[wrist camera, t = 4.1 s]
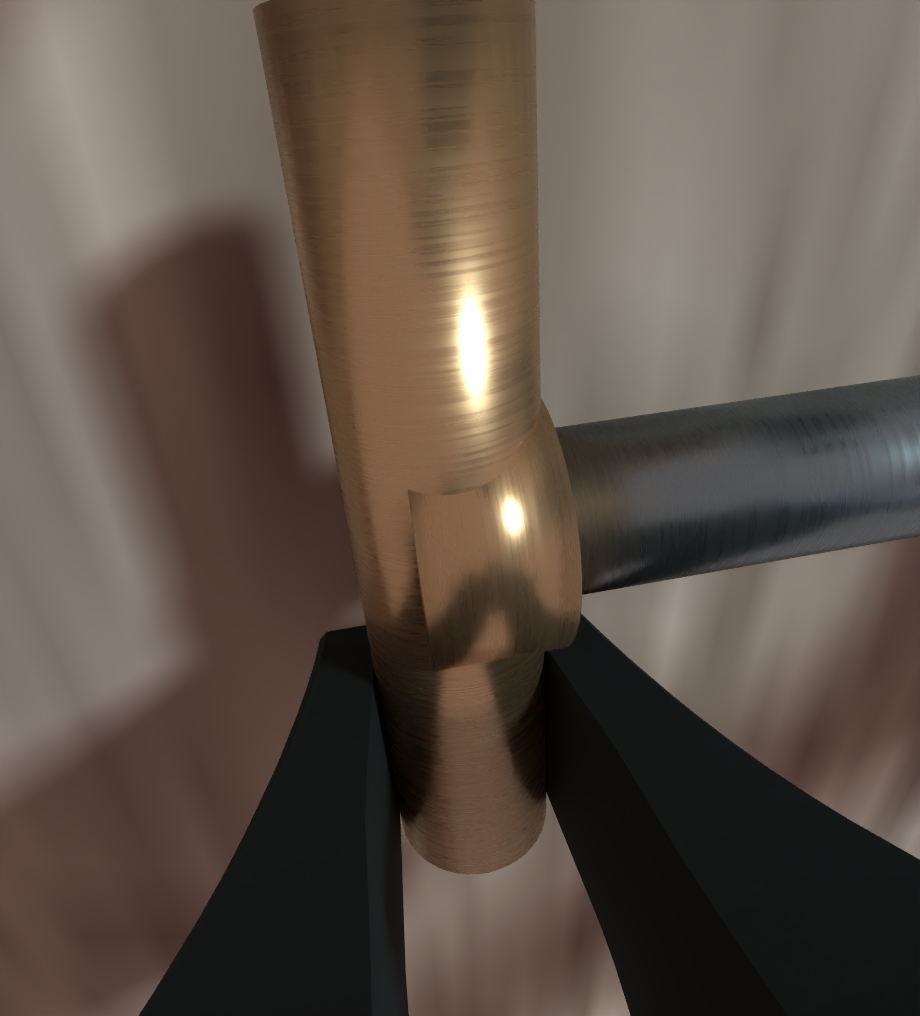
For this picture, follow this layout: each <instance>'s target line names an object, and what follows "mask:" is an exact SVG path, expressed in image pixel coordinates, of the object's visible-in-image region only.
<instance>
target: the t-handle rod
mask: <svg viewBox="0 0 920 1016" xmlns="http://www.w3.org/2000/svg"><path fill="white" fill-rule="evenodd" d="M253 14H254V19H255V25H256V30H257V36H258V41H259V47H260V52H261V57H262V63H263V68H264V74H265V79H266V85H267V90H268V95H269V101H270V106H271V112H272V117H273V123H274V128H275V133H276V139H277V144H278V150H279V155H280V161H281V166H282V172H283V177H284V182H285V188H286V193H287V199H288V204H289V210H290V215H291V220H292V226H293V231H294V237H295V242H296V248H297V253H298V258H299V264H300V269H301V275H302V280H303V286H304V291H305V296H306V302H307V307H308V313H309V318H310V324H311V329H312V335H313V340H314V345H315V351H316V356H317V362H318V367H319V373H320V378H321V383H322V389H323V394H324V400H325V405H326V411H327V416H328V421H329V427H330V432H331V438H332V443H333V449H334V454H335V459H336V465H337V470H338V476H339V481H340V487H341V492H342V498H343V503H344V508H345V514H346V519H347V525H348V530H349V536H350V541H351V546H352V552H353V557H354V563H355V568H356V574H357V579H358V584H359V590H360V595H361V601H362V606H363V612H364V617H365V623H366V628H367V633H368V639H369V644H370V650H371V655H372V661H373V666H374V671H375V677H376V682H377V688H378V693H379V699H380V704H381V709H382V715H383V720H384V726H385V731H386V737H387V742H388V747H389V753H390V758H391V764H392V769H393V775H394V780H395V786H396V791H397V796H398V802H399V807H400V813H401V818H402V823H403V828H404V831H405V833H406V836H407V838H408V840H409V842H410V843H411V845H412V846H413V847H414V849H415V850H416V851H417V852H418V853H419V854H420V855H421V856H422V857H423V858H424V859H426V860H427V861H428V862H430V863H432V864H433V865H435V866H437V867H439V868H442V869H444V870H447V871H450V872H455V873H460V874H482V873H489V872H492V871H496V870H499V869H501V868H504V867H506V866H508V865H510V864H512V863H513V862H515V861H517V860H518V859H519V858H521V857H522V856H523V855H524V854H525V853H526V852H527V851H528V850H529V849H530V848H531V847H532V846H533V844H534V843H535V842H536V840H537V839H538V837H539V835H540V833H541V831H542V828H543V825H544V822H545V817H546V745H545V672H544V651H549V650H555V649H560V648H566V647H568V646H570V645H571V644H572V643H573V641H574V640H575V637H576V635H577V632H578V627H579V623H580V616H581V605H582V595H583V594H589V593H595V592H600V591H606V590H612V589H618V588H623V587H629V586H635V585H641V584H646V583H652V582H658V581H663V580H669V579H675V578H681V577H686V576H692V575H698V574H704V573H709V572H715V571H721V570H727V569H732V568H738V567H744V566H749V565H755V564H761V563H767V562H772V561H778V560H784V559H790V558H795V557H801V556H807V555H813V554H818V553H824V552H830V551H835V550H841V549H847V548H853V547H858V546H864V545H870V544H876V543H881V542H887V541H893V540H898V539H904V538H910V537H916V536H920V375H918V376H911V377H904V378H897V379H890V380H883V381H876V382H869V383H862V384H855V385H848V386H841V387H834V388H827V389H820V390H814V391H807V392H800V393H793V394H786V395H779V396H772V397H765V398H758V399H751V400H744V401H737V402H730V403H723V404H716V405H709V406H702V407H696V408H689V409H682V410H675V411H668V412H661V413H654V414H647V415H640V416H633V417H626V418H619V419H612V420H605V421H598V422H591V423H584V424H578V425H571V426H564V427H557V428H555V427H554V424H553V422H552V420H551V417H550V415H549V412H548V410H547V408H546V406H545V404H544V402H543V401H542V399H541V380H540V307H539V234H538V162H537V89H536V16H535V0H269V1H267V2H264V3H261V4H259V5H258V6H256V7H255V8H254V9H253Z"/></svg>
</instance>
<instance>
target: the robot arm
mask: <svg viewBox="0 0 920 1016" xmlns="http://www.w3.org/2000/svg"><path fill="white" fill-rule="evenodd" d="M544 672H545V745H546V792H547V795H548V797H549V800H550V802H551V805H552V807H553V810H554V812H555V814H556V817H557V819H558V822H559V824H560V827H561V829H562V832H563V834H564V837H565V839H566V842H567V844H568V847H569V849H570V851H571V854H572V856H573V859H574V861H575V864H576V866H577V869H578V871H579V874H580V876H581V878H582V881H583V883H584V886H585V888H586V891H587V893H588V896H589V898H590V901H591V903H592V906H593V908H594V910H595V913H596V915H597V918H598V920H599V923H600V925H601V928H602V931H603V933H604V936H605V939H606V942H607V944H608V947H609V950H610V953H611V955H612V958H613V961H614V964H615V967H616V970H617V973H618V976H619V980H620V983H621V986H622V989H623V993H624V996H625V999H626V1002H627V1005H628V1009H629V1012H630V1015H631V1016H920V860H919V859H918V858H916V857H914V856H912V855H910V854H909V853H907V852H905V851H903V850H902V849H900V848H898V847H896V846H895V845H893V844H891V843H889V842H888V841H886V840H884V839H882V838H881V837H879V836H877V835H875V834H873V833H872V832H870V831H868V830H866V829H865V828H863V827H861V826H859V825H858V824H856V823H854V822H852V821H851V820H849V819H847V818H846V817H844V816H842V815H841V814H839V813H837V812H836V811H834V810H832V809H831V808H829V807H828V806H826V805H824V804H823V803H821V802H820V801H818V800H816V799H815V798H813V797H812V796H810V795H808V794H807V793H805V792H804V791H802V790H801V789H799V788H798V787H796V786H795V785H793V784H792V783H790V782H789V781H787V780H786V779H784V778H783V777H781V776H780V775H778V774H777V773H775V772H774V771H772V770H771V769H769V768H768V767H766V766H765V765H764V764H762V763H761V762H759V761H758V760H757V759H755V758H754V757H752V756H751V755H749V754H748V753H747V752H745V751H744V750H743V749H741V748H740V747H738V746H737V745H736V744H734V743H733V742H732V741H730V740H729V739H727V738H726V737H725V736H724V735H722V734H721V733H720V732H718V731H717V730H716V729H714V728H713V727H712V726H710V725H709V724H708V723H707V722H705V721H704V720H703V719H701V718H700V717H699V716H697V715H696V714H695V713H694V712H692V711H691V710H690V709H689V708H687V707H686V706H685V705H684V704H682V703H681V702H680V701H679V700H677V699H676V698H675V697H674V696H673V695H671V694H670V693H669V692H668V691H667V690H665V689H664V688H663V687H662V686H661V685H660V684H658V683H657V682H656V681H655V680H654V679H653V678H651V677H650V676H649V675H648V674H647V673H645V672H644V671H643V670H642V669H641V668H640V667H638V666H637V665H636V664H635V663H634V662H633V661H632V660H630V659H629V658H628V657H627V656H626V655H625V654H624V653H623V652H622V651H620V650H619V649H618V648H617V647H616V646H615V645H614V644H613V643H612V642H611V641H610V640H609V639H607V638H606V637H605V636H604V635H603V634H602V633H601V632H600V631H599V630H598V629H597V628H596V627H595V626H594V625H592V624H591V623H590V622H589V621H588V620H587V619H586V618H585V617H584V616H583V615H582V614H581V616H580V623H579V627H578V632H577V635H576V637H575V640H574V641H573V643H572V644H571V645H570V646H568V647H566V648H560V649H555V650H549V651H544ZM139 1016H409V1013H408V1000H407V985H406V970H405V941H404V912H403V883H402V854H401V826H400V807H399V802H398V796H397V791H396V786H395V780H394V775H393V769H392V764H391V758H390V753H389V747H388V742H387V737H386V731H385V726H384V720H383V715H382V709H381V704H380V699H379V693H378V688H377V682H376V677H375V671H374V666H373V661H372V655H371V650H370V644H369V639H368V633H367V628H366V625H364V626H358V627H352V628H347V629H341V630H335V631H329V632H326V633H325V635H324V636H323V637H322V638H321V639H320V641H319V646H318V651H317V655H316V659H315V663H314V666H313V670H312V673H311V676H310V680H309V683H308V686H307V689H306V692H305V695H304V697H303V700H302V703H301V706H300V709H299V712H298V714H297V717H296V719H295V722H294V724H293V727H292V729H291V732H290V734H289V737H288V739H287V742H286V744H285V747H284V749H283V752H282V754H281V757H280V759H279V762H278V764H277V766H276V769H275V771H274V773H273V775H272V778H271V780H270V782H269V784H268V786H267V788H266V790H265V792H264V795H263V797H262V799H261V801H260V803H259V805H258V807H257V809H256V812H255V814H254V816H253V818H252V820H251V822H250V824H249V826H248V829H247V831H246V833H245V835H244V837H243V839H242V841H241V842H240V844H239V846H238V848H237V850H236V852H235V854H234V856H233V858H232V860H231V862H230V864H229V865H228V867H227V869H226V871H225V873H224V875H223V877H222V878H221V880H220V882H219V884H218V886H217V887H216V889H215V891H214V893H213V894H212V896H211V898H210V900H209V902H208V903H207V905H206V907H205V909H204V910H203V912H202V914H201V916H200V917H199V919H198V921H197V923H196V924H195V926H194V928H193V929H192V931H191V933H190V934H189V936H188V937H187V939H186V941H185V942H184V944H183V946H182V947H181V949H180V950H179V952H178V954H177V955H176V957H175V959H174V960H173V962H172V963H171V965H170V967H169V968H168V970H167V972H166V973H165V975H164V976H163V978H162V980H161V981H160V983H159V985H158V986H157V988H156V990H155V991H154V993H153V994H152V996H151V997H150V999H149V1000H148V1002H147V1004H146V1005H145V1007H144V1008H143V1010H142V1011H141V1013H140V1014H139Z"/></svg>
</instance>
